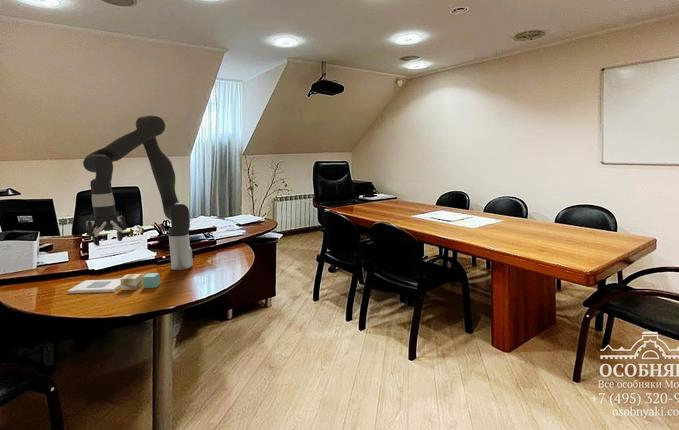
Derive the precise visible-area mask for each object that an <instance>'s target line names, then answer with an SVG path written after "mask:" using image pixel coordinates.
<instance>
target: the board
mask: <svg viewBox="0 0 679 430" xmlns="http://www.w3.org/2000/svg"><path fill="white" fill-rule="evenodd" d="M120 279H121V278H119V279H94V280H93V279H91V280H89V279H86V280H83V281H82V282H80V283H79V284H77V285H75V286H73V287H72V288H70V289H69V290H67V291H68V294H83V293H84V294H85V293H89V294H91V293H114V292H115V291H117V290H119V289H121V281H120Z"/></svg>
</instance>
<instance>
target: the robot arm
mask: <svg viewBox="0 0 679 430" xmlns="http://www.w3.org/2000/svg"><path fill="white" fill-rule="evenodd" d="M135 127H136V129H135V130H133V131H131V132H128V133H127V134H124V135H122V136H120V137H118V138H116V139H115V140H113V141H112V142H110V143H108V144H107V145H106V146H105V147H102V148H100V149H97V150H95V151H93V152H91V153H89V154H88V155H87V156H85V157H84V159H83V162H82V166H83V168H84V169H85V170H86V171H87V172H90V173H95V178H94V179H92V180H90V192H91V203H92V210H93V218H94V219H93V220H86V221H85V234H86V237H87V236H88V237H92V241H93V245H95V246H96V247H98V246H101V243H100V238H99V234H100V233H101V232H102V231H104V230H107V229H110V230H111V229H113V230H116V236H117V241H119V242H121V241H122V240H123V239H124V236H123V232H124V231H125V230H127V224H126V217H125V216H124V215H119V216H117V215H116V214H117V212H116V206H115V205H116V204H115V198H114V195H113V189H112V188H113V187H112V178H113V171H114V164H113V162H117V161H120V160H121V159H123V158H124V157H126V156H128V154H129V153H131V152H132V151H134V150H135V149H137V148H138V147H140V146H142V145H143V147H144V150H145V153H146V155H147V158H148V162H149V165H150V168H151V171H152V175H153V178H154V180H155V183H156V186H157V189H158V191H159V192H158V193H159V194H160V195H159V196H160V198H161V205H162V208H163V214H164V216H165V217H166V219H168V220H170V222H171V223H170V225H171V226H170V229H168V241H169V243H168V244H169V254H170V266H171V270H174V271H183V270H186V269H187V270H188V269H190V268H191V267H194V266H193V265H194V262H193V249H192V247H191V245H190V233H189V230H190V227H191V224H190V223H191V221H190V220H191V217H190V209H189V208H188V205H186V204H184V203H181V202H180V201H179V200H178V197H177V194H176V172H175V169H174V166H173V163H172V161H171V160H170V158H169V157H168V156H167V155H166V153H165V152H164V151H163V150H162V148H161V147H160V146H159V143H158V140H157V137H159V136H160V135H163V133H164V132H165V130H166V123H165V121H164V118H162V117H161V116H159V115H155V114H151V115H150V114H149V115H143V116H140V117H137V119H136V122H135ZM117 222H119V224H120V226H119V225H118V224H117ZM94 225H95V228H94V229H93V226H94Z"/></svg>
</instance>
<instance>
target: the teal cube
mask: <svg viewBox="0 0 679 430" xmlns="http://www.w3.org/2000/svg"><path fill="white" fill-rule="evenodd" d="M160 275H161V274H160V272H152V273H151V272H147V273H146V274H145V275H143V277H142V286H143V289H150V288H151V289H153V288H155V289H156V288H158V286H159V285H161V277H160Z"/></svg>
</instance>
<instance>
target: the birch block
mask: <svg viewBox="0 0 679 430" xmlns="http://www.w3.org/2000/svg"><path fill="white" fill-rule="evenodd" d="M119 279H120V281H121V287H120V290H121V291H127V290H130V291H131V290H133V291H134V290H136V291H137V289H139V288H140V287H141V286H143V277H142V273H133V274H131V273H128V274H125V275H124V276H122V277H121V278H119Z"/></svg>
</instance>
